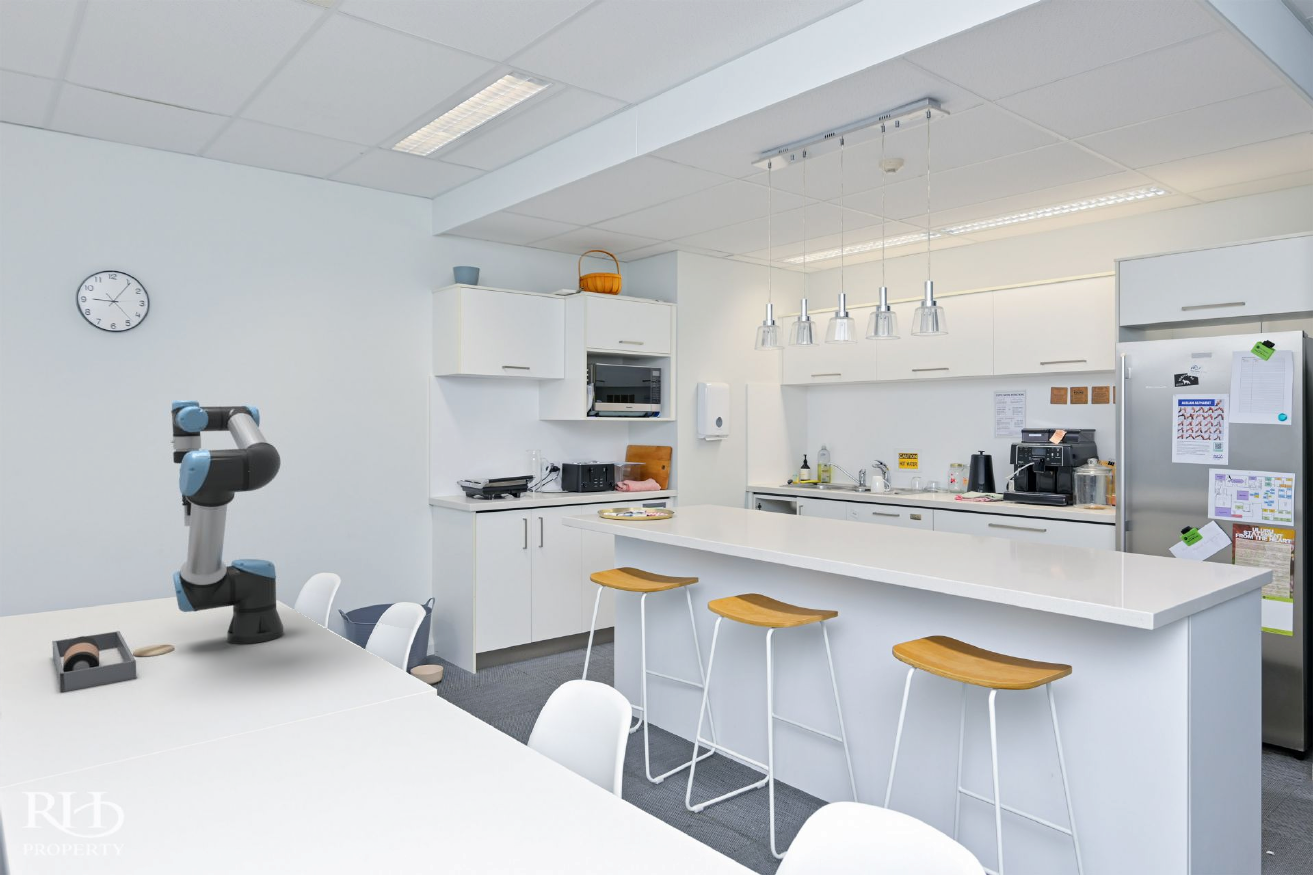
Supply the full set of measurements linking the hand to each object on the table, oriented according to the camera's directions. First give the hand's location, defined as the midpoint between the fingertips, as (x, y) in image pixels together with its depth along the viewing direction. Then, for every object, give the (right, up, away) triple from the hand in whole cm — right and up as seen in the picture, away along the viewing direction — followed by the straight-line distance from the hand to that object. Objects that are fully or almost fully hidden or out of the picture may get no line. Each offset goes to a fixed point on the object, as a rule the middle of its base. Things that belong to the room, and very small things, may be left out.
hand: (189, 525), depth 252 cm
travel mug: (-10, -30, -33) cm, 46 cm away
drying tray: (-5, -34, -36) cm, 50 cm away
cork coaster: (+3, -33, -23) cm, 40 cm away
